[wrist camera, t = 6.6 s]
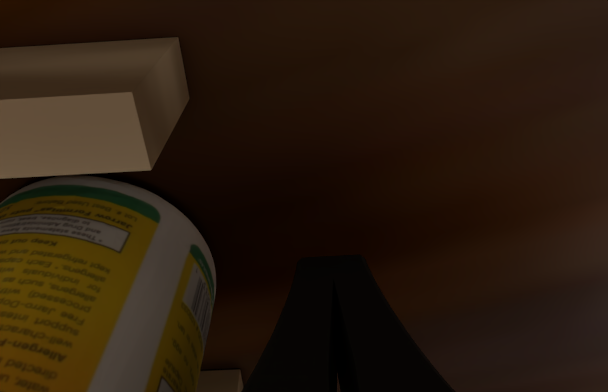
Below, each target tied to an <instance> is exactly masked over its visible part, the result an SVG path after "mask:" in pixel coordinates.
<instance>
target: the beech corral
mask: <svg viewBox="0 0 608 392" xmlns="http://www.w3.org/2000/svg"><path fill="white" fill-rule="evenodd" d="M189 99H190V98H189V92H188V87H187V82H186V76H185V71H184V65H183V60H182V55H181V49H180V44H179V39H178V37H171V38H155V39H139V40H123V41H107V42H91V43H75V44H59V45H43V46H27V47H11V48H0V179H4V178H22V177H40V176H58V175H76V174H94V173H112V172H129V171H147V170H152V168H153V166H154V164H155V162H156V161H157V159H158V157H159V155H160V153H161V151H162V149H163V147H164V146H165V144H166V142H167V140H168V138H169V136H170V134H171V133H172V131H173V129H174V127H175V125H176V123H177V121H178V119H179V118H180V116H181V114H182V112H183V110H184V108H185V106H186V104H187V103H188V101H189ZM242 390H243V382H242V377H241V372H240V369H237V370H215V371H200V374H199V379H198V384H197V388H196V392H241V391H242Z"/></svg>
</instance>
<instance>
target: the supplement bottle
mask: <svg viewBox="0 0 608 392" xmlns="http://www.w3.org/2000/svg"><path fill="white" fill-rule="evenodd" d="M215 294H216V271H215V266H214V261H213V258H212V255H211V252H210V250H209V247H208V246H207V244H206V242H205V240H204V239H203V237H202V235H201V234H200V232H199V231H198V230H197V228H196V227H195V226H194V225H193V223H192V222H191V221H190V220H189V219H188V218H187V217H186V216H185V215H184V214H183V213H182V212H180V211H179V210H178V209H177V208H175V207H174V206H173V205H171V204H170V203H168V202H167V201H165V200H164V199H162V198H161V197H159V196H158V195H156V194H154V193H152V192H149V191H147V190H145V189H143V188H140V187H137V186H134V185H131V184H129V183H125V182H120V181H116V180H111V179H107V178H101V177H95V176H77V175H70V176H59V177H53V178H49V179H45V180H41V181H38V182H35V183H33V184H30V185H28V186H26V187H23V188H22V189H20V190H18V191H16V192H15V193H13V194H11V195H10V196H9V197H7V198H6V199H5V200H4V201H3V202H1V203H0V392H196V388H197V384H198V379H199V374H200V368H201V364H202V360H203V356H204V351H205V346H206V341H207V336H208V332H209V327H210V321H211V317H212V311H213V306H214V300H215Z"/></svg>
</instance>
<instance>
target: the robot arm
mask: <svg viewBox="0 0 608 392" xmlns="http://www.w3.org/2000/svg"><path fill="white" fill-rule="evenodd" d="M337 372H338V378H339V384H340V390H341V392H455V391H454V390H453V389H452V388H451V387H450V385H449V384H448V383H447V382H446V381H445V380H444V378H443V377H442V376H441V375H440V374H439V373H438V371H437V370H436V369H435V368H434V366H433V365H432V364H431V363H430V361H429V360H428V359H427V358H426V356H425V355H424V354H423V352H422V351H421V350H420V348H419V347H418V346H417V345H416V343H415V342H414V340H413V339H412V338H411V336H410V335H409V333H408V332H407V331H406V329H405V328H404V326H403V325H402V323H401V322H400V320H399V319H398V317H397V316H396V314H395V313H394V311H393V310H392V308H391V307H390V305H389V304H388V302H387V300H386V299H385V297H384V295H383V294H382V292H381V290H380V288H379V287H378V285H377V283H376V281H375V279H374V277H373V275H372V273H371V271H370V269H369V267H368V265H367V262H366V260H365V258H363V257H362V256H361V255H344V256H326V257H307V258H302V259H300V260H299V261H298V262H297V268H296V272H295V276H294V280H293V283H292V287H291V290H290V292H289V295H288V298H287V301H286V303H285V306H284V308H283V311H282V313H281V315H280V318H279V320H278V322H277V325H276V327H275V329H274V332H273V334H272V336H271V338H270V340H269V342H268V344H267V346H266V348H265V350H264V352H263V353H262V355H261V357H260V359H259V361H258V363H257V365H256V367H255V369H254V371H253V372H252V374H251V376H250V378H249V379H248V381H247V383H246V385H245V386H244V388H243V390H242V391H241V392H337Z"/></svg>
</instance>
